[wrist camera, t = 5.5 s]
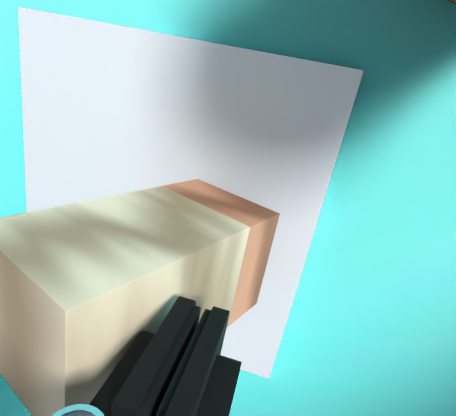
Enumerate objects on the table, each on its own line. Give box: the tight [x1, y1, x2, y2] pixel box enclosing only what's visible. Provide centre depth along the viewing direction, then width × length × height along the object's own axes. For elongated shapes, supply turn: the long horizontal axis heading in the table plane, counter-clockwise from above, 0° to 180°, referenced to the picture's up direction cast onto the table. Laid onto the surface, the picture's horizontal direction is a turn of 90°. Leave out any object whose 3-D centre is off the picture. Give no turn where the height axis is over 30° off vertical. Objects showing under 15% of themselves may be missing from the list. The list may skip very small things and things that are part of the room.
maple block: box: [0, 179, 280, 416], centre depth 13 cm, size 5×5×10 cm
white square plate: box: [18, 7, 364, 379], centre depth 19 cm, size 17×18×1 cm
